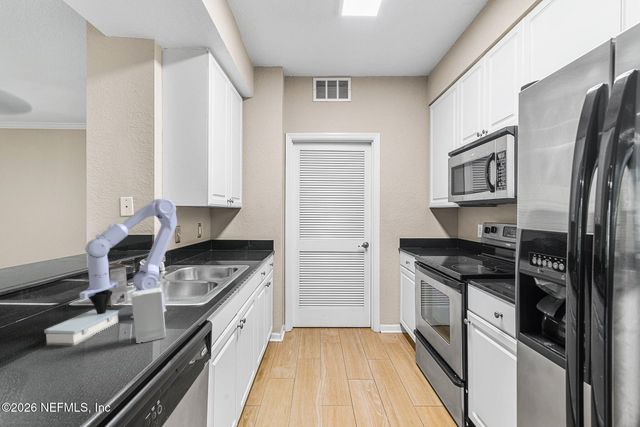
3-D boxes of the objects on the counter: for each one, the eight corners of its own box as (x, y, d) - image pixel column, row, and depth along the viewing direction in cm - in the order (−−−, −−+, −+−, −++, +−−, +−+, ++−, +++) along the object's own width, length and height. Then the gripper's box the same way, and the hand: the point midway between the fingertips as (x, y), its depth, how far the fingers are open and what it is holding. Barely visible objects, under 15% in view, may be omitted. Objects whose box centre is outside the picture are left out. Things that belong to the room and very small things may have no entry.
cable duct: (119, 322, 115) (118, 312, 115) (75, 345, 97) (74, 334, 97) (95, 322, 116) (94, 312, 116) (47, 345, 98) (46, 333, 98)
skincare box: (165, 331, 105) (162, 286, 104) (165, 338, 100) (162, 290, 99) (135, 337, 101) (132, 290, 101) (134, 345, 96) (131, 295, 95)
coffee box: (104, 302, 140) (102, 265, 139) (121, 298, 145) (119, 262, 144) (111, 306, 134) (108, 267, 133) (128, 302, 138) (125, 265, 138)
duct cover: (118, 312, 115) (118, 310, 115) (74, 334, 97) (74, 330, 97) (93, 312, 116) (92, 309, 116) (44, 333, 98) (44, 329, 98)
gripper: (104, 269, 119) (107, 306, 120) (69, 279, 105) (72, 321, 105) (122, 269, 118) (124, 306, 119) (89, 279, 104) (92, 321, 105)
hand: (101, 313), depth 112 cm, fingers closed, pressing on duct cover
